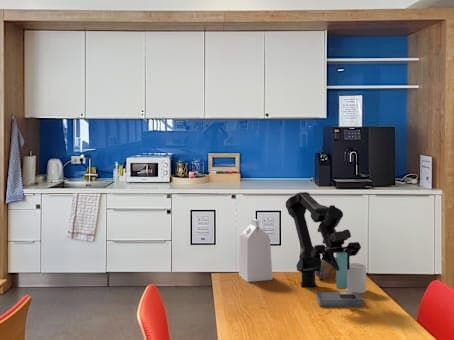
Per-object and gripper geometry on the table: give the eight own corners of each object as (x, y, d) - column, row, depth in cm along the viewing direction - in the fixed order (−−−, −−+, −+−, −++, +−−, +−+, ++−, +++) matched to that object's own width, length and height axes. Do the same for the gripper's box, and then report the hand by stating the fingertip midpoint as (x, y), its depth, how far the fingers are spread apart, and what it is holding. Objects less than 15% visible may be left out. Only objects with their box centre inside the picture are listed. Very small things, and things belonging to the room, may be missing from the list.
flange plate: (316, 298, 225) (316, 292, 225) (358, 298, 225) (358, 291, 224) (319, 306, 215) (319, 299, 215) (363, 306, 215) (363, 299, 214)
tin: (319, 280, 253) (319, 261, 252) (314, 279, 255) (313, 260, 254) (341, 274, 263) (341, 256, 262) (335, 273, 265) (335, 255, 264)
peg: (334, 288, 217) (334, 253, 216) (339, 285, 220) (339, 251, 219) (344, 289, 214) (344, 254, 213) (349, 287, 217) (349, 252, 216)
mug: (368, 293, 232) (368, 267, 231) (348, 293, 231) (348, 267, 231) (360, 285, 244) (360, 260, 243) (341, 285, 244) (341, 260, 243)
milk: (272, 279, 256) (271, 220, 254) (247, 281, 253) (246, 222, 251) (263, 273, 267) (262, 216, 266) (238, 275, 264) (238, 218, 262)
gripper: (313, 223, 216) (327, 259, 207) (358, 220, 222) (374, 255, 212) (304, 241, 224) (317, 276, 215) (348, 237, 230) (362, 272, 220)
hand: (343, 269), depth 215 cm, fingers closed on peg, 4 cm apart
